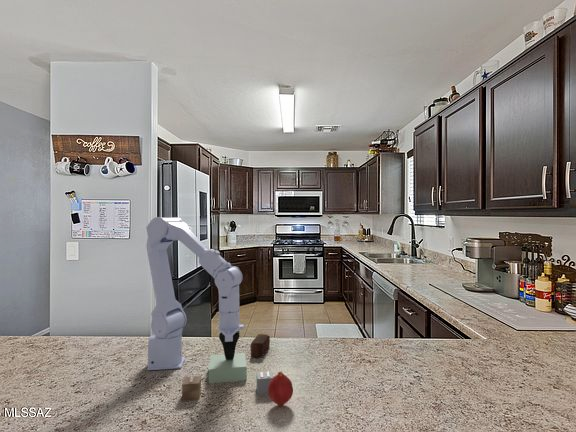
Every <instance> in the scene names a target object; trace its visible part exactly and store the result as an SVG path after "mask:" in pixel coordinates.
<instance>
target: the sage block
mask: <svg viewBox="0 0 576 432" xmlns="http://www.w3.org/2000/svg"><path fill="white" fill-rule="evenodd" d="M247 369H248V367H247V360H246V353H245V352H240V353H235V354H234V358H233V360H226V358H225V354H224V353H223V354H211V355H210V357H209V363H208V384H217V383H229V382H240V381H241V382H242V381H247V380H248V379H247V378H248V376H247V375H248V374H247V373H248V372H247Z"/></svg>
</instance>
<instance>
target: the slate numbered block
mask: <svg viewBox="0 0 576 432" xmlns="http://www.w3.org/2000/svg"><path fill="white" fill-rule="evenodd" d="M273 373H274V372H273V370H268V371H266V370H265V371H257V372H256V393H257V396H262V395H269V393H268V386H269V383H270V381H271V380H272V378H273V377H274V374H273Z"/></svg>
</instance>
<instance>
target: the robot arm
mask: <svg viewBox="0 0 576 432" xmlns="http://www.w3.org/2000/svg"><path fill="white" fill-rule="evenodd" d="M145 229H146V233H147V239H146V245H145V246H146V247H145V248H146V252H147V259H148V263H149V270H150V275H151V280H152V285H153V291H154V297H155V304H156V305H155V306H154V307H153V310H152V311H151V314H150V316H151V322H150V330H151V332H152V334H153V335H152V334H151V335H150V336H149V337H148V343H147V369H146V370H147V371H156V370H157V371H160V370H173V369H182V367H183V364H184V362H185V359H186V356H183V336H182V335H183V331H184V329H183V328H184V327H185V326H186V324H187V321H188V319H187V315H186V313H185V311H184V309H183V306H182V303H181V302H179V301H178V300H177V299H176V296H175V290H174V289H175V288H174V285H173V278H172V273H171V268H170V262H169V257H168V251H167V249H168V247H170V245H171V244H172V243H173V242H174V241H179V242H180V243H181V244H183V245H184V246H185V247H186V248H187V249H189V250H190V251H191V252H192V253H193V254H194V255H196V257H198V263H199V265H200V266H201V267H202V268H203V269H204V270H205V271H206V272H207V273H208V274H209V275H210V276H211V277H212V278H213V279H214V284H215V286H216V287H217V290H218V327H217V329H218V331H219V335H218V338H219V341H220V342H221V345H222V349H223V354H225V358H226V360H233V358H234V354H236V346H237V343H238V341H239V339H240V330H243V329H244V328H245V327H244V324H240V320H241V319H240V318H241V317H240V285H241V283H242V281H243V278H244V277H243V273H242V271H241V270H240V267H238V266H234V265H232V264H231V262H228V261H227V260H225V258H224V257H222V256H221V255H220V254H221V252H220V251H219V250H218V249H217V250H216V249H213V248H207V247H206V246H205V245H204V243H203V242H202V241H201V240H200V238H198V237H197V235H195V233H193V231H192V230H190V228H189V226H188V224H187V223H186V222H184V221H183V220H182V219H181V218H180V217H177V216H174V217H173V216H172V217H161V216H156V217H153V218H152V219H151V220H150V221H149V223H148V224H147V226H146V228H145Z"/></svg>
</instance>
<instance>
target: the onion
mask: <svg viewBox="0 0 576 432" xmlns="http://www.w3.org/2000/svg"><path fill="white" fill-rule="evenodd" d="M268 393H269V394H268V397H269V399H270V400H271V401H272V402H273V403H275V404H276V405H277V406H278V407H283V406H284V405H285V404H287V403H288V402H289V401H290V400H291V399H292V396H293V395H294V394H293V393H294V387H293V383H292V381H291V379H290V378H289V377H288V376H287V375H285V374H284V373H283V372H282V371H280V370H279V371H278V372H277V374H276V375H275V376H274V375H273V378H272V380H271V381H270V383H269V386H268Z"/></svg>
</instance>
